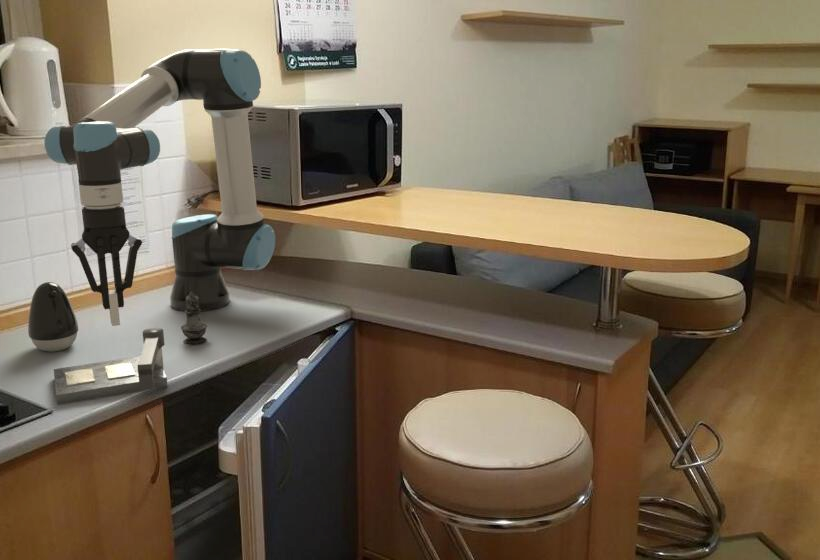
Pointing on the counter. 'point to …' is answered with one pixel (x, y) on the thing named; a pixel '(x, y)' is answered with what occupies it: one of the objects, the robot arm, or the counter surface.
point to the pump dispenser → (51, 319)
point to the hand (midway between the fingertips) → (115, 323)
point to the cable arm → (149, 356)
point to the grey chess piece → (193, 322)
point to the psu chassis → (104, 379)
